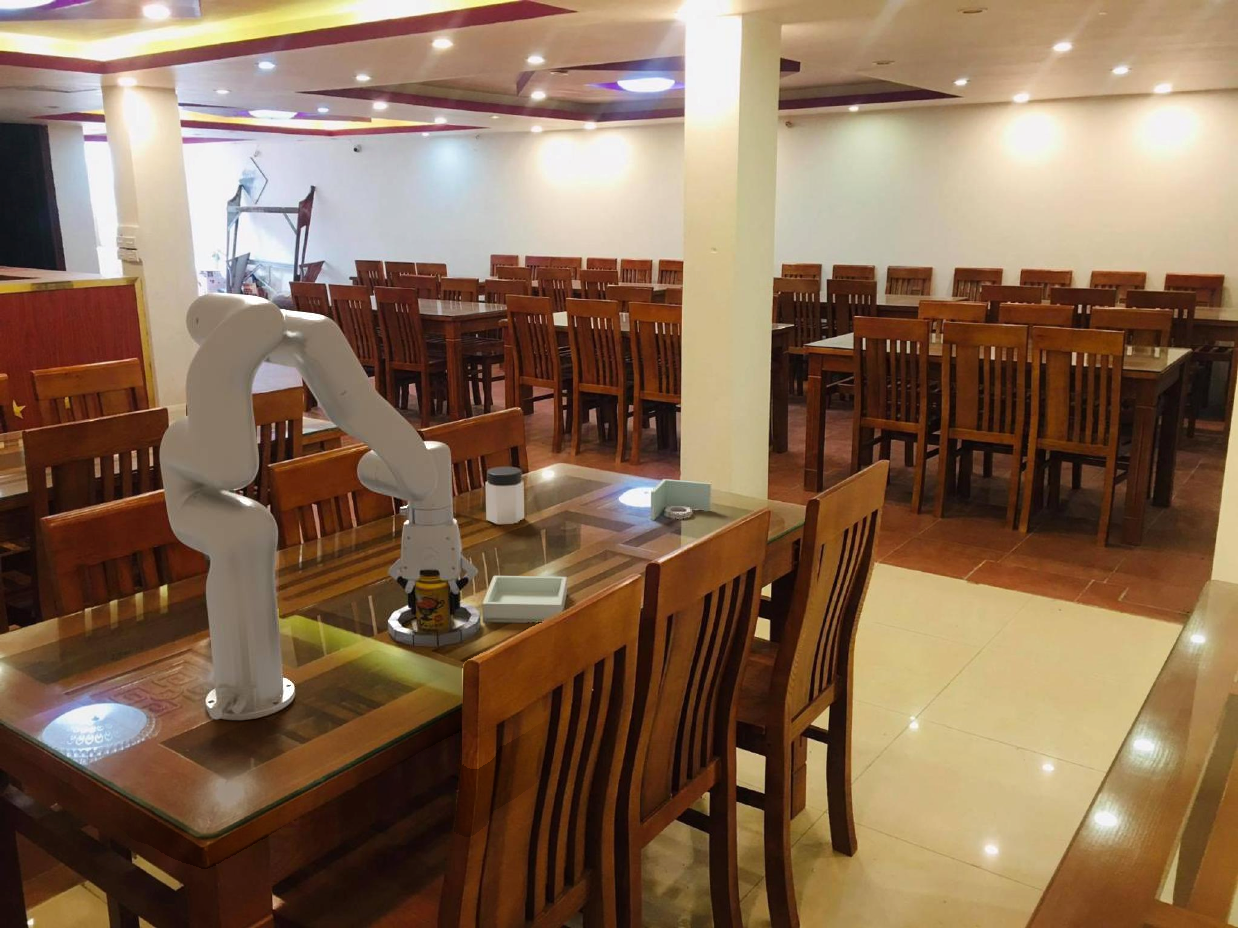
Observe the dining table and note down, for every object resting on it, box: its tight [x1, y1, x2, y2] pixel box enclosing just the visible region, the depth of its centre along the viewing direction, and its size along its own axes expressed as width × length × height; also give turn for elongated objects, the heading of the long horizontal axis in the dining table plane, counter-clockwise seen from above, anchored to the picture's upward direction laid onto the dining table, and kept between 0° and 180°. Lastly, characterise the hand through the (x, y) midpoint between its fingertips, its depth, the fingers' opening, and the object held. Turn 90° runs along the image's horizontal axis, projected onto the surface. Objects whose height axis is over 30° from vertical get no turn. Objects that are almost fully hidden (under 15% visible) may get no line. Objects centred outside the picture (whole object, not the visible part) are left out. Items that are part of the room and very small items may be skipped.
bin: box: [481, 575, 568, 624], centre depth 186 cm, size 14×14×4 cm
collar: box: [387, 601, 481, 648], centre depth 177 cm, size 16×16×2 cm
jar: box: [485, 466, 525, 525], centre depth 238 cm, size 9×8×12 cm
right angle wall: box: [650, 478, 712, 521], centre depth 243 cm, size 12×12×8 cm
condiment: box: [410, 570, 457, 632], centre depth 176 cm, size 7×8×12 cm
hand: (434, 611), depth 176 cm, fingers closed on condiment, 6 cm apart
